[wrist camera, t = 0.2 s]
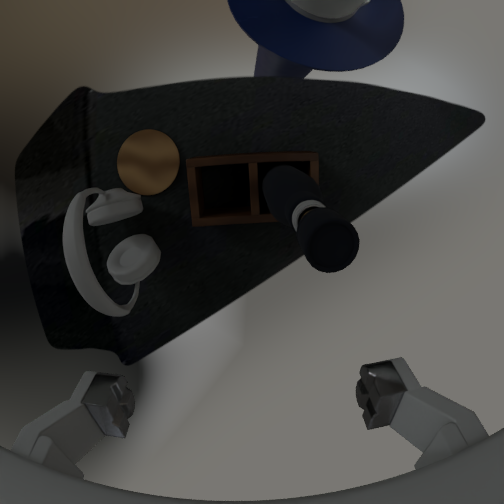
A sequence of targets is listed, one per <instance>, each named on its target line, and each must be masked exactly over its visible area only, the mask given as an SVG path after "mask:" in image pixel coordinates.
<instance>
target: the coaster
mask: <svg viewBox="0 0 504 504" xmlns="http://www.w3.org/2000/svg"><path fill="white" fill-rule="evenodd" d="M179 165H180V158H179V152H178V149H177V147H176V145H175V143H174V142H173V141H172V139H171V138H170V137H169V136H167V135H166V134H164V133H162V132H160V131H157V130H142V131H139V132H136V133H134V134H133V135H131V136H130V137H129V138H128V139H127V140H126V141H125V142H124V143H123V145H122V147H121V149H120V151H119V154H118V159H117V168H118V172H119V176H120V178H121V180H122V181H123V183H124V184H125V185H126V186H127V187H128V188H129V189H130V190H132V191H133V192H135V193H138V194H141V195H154V194H157V193H160V192H162V191H163V190H165V189H166V188H168V187H169V186H170V185H171V184H172V182H173V181H174V180H175V178H176V176H177V173H178V170H179Z"/></svg>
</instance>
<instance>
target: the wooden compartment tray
mask: <svg viewBox="0 0 504 504" xmlns="http://www.w3.org/2000/svg"><path fill="white" fill-rule="evenodd" d="M288 161H303V172H304V173H305V174H307V175H308V176H310V177H311V178H313V179H314V180H315V182H316V183H317V184H318V186H319V161H318V153H316V152H311V151H284V152H257V153H239V154H224V155H212V156H201V157H193V158H190V159H187V160H186V166H187V177H188V187H189V197H190V207H191V216H192V226H193V227H197V226H211V225H227V224H243V223H261V222H279V221H277V220H276V219H275V218H274V217H273V215H272V214H271V213H270V210H269V208H268V205H262V206H259V188H258V168H257V163H260V162H288ZM242 163H248V168H249V186H250V204H251V206H244V207H228V208H213V209H205V206H204V195H203V183H202V171H201V167H202V166H213V165H227V164H242Z"/></svg>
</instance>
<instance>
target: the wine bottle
mask: <svg viewBox="0 0 504 504" xmlns="http://www.w3.org/2000/svg"><path fill="white" fill-rule="evenodd" d="M260 183H261V188H262V191H263V194H264V197H265V199H266V202H267V205H268V208H269V210H270V213H271V214H272V215H273V217H274V218H275V219H276V220H277V221H279V222H281V223H282V224H284V225H285V226H287V227H291V228H292V229H293V230H294V231H295V232H297V240H298V242H299V245H300V247H301V249H302V251H303V253H304V255H305V257H306V259H307V261H308V262H309V263H310V264H311V266H312V267H314V268H315V269H317V270H318V271H322V272H326V273H331V272H337V271H340V270H343V269H344V268H346V267H347V266H348V265H350V264H351V263H352V261H353V260H354V259H355V257H356V255H357V252H358V250H359V237H358V233H357V231H356V230H355V228H354V227H353V225H352V224H351V223H349V222H348V221H347V220H346V219H345V218H343V217H342V216H341V215H340V214H339V213H337V212H336V211H335V210H333V209H330V208H327V206H326V205H325V203H324V202H323V196H322V193H321V190H320V188H319V186H318V184H317V183H316V182H315V180H314V179H313V178H311V177H310V176H308V175H307V174H305V173H304V172H302V171H300V170H298V169H296V168H295V167H293V166H291V165H289V164H286V163H274V164H271V165H270V166H268V167H267V168H266V169H265V170H264V172H263V173H262V176H261V179H260Z"/></svg>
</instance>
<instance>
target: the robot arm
mask: <svg viewBox="0 0 504 504" xmlns="http://www.w3.org/2000/svg"><path fill="white" fill-rule="evenodd" d="M285 1H286V2H287V3H288V4H289V5H290V6H291V7H292V8H293V9H294V10H295V11H297V12H298V13H300V14H301V15H303V16H305V17H307V18H310V19H312V20H316V21H319V22H326V23H336V22H342V21H345V20H347V19H349V18H351V17H352V16H353V15H354V14H355V13H356V12H357V10H358V9H359V8H360V7H361V6H364V5H366V4H368V3H369V2H370V1H371V0H285ZM360 376H361V379H360V380H359V381H358V382H357V386H356V398H357V402H358V405H359V407H361V408H362V409H364V413H363V419H364V421H365V424H366V427H367V429H368V430H369V429H374V428H379V427H383V426H387V425H390V427H391V428H392V429H394V430H395V431H396V432H397V433H399V434H400V435H401V436H403V437H404V438H405V439H406V440H408V441H409V442H410V443H411V444H413V445H414V446H415V447H417V448H418V449H419V450H420V451H422V452H423V454H422V455H421V457H420V458H419V460H418V461H417V462H416V464H415V469H416V470H414V471H411V472H408V473H405V474H402V475H399V476H396V477H393V478H389V479H386V480H383V481H379V482H375V483H372V484H368V485H364V486H360V487H355V488H351V489H346V490H341V491H337V492H331V493H325V494H319V495H313V496H305V497H298V498H288V499H277V500H262V501H205V500H192V499H180V498H171V497H163V496H156V495H150V494H144V493H138V492H133V491H128V490H123V489H118V488H114V487H109V486H105V485H102V484H98V483H94V482H90V481H87V480H84V479H83V477H84V475H83V473H82V471H81V470H79V468H78V467H77V466H76V465H75V464H76V463H77V462H78V461H79V460H80V459H81V458H82V457H83V456H84V455H86V454H87V453H88V452H89V451H90V450H91V449H92V448H93V447H94V446H95V445H96V444H97V443H98V442H99V441H100V440H102V439H103V438H104V437H105V435H108V436H114V437H121V438H125V437H126V434H127V431H128V427H129V422H128V420H127V419H128V418H129V417H131V416H132V415H133V412H134V408H135V400H134V396H133V393H132V391H131V390H130V389H128V388H127V387H126V386H127V383H128V382H127V380H126V378H125V376H123V375H116V374H108V373H101V372H92V371H87V372H85V373H84V374H83V376H82V378H81V380H80V381H79V383H78V385H77V387H76V389H75V391H74V392H73V394H72V396H71V398H70V400H69V401H67V400H65V401H64V402H62V403H61V404H59V405H58V406H56V407H54V408H53V409H51V410H50V411H48V412H46V413H45V414H43V415H42V416H40V417H39V418H37V419H35V420H34V421H32V422H30V423H29V424H27V425H26V426H24V427H23V428H22V430H21V432H20V433H19V435H18V437H17V439H16V441H15V443H14V445H13V447H12V449H11V451H10V450H7V449H5V448H4V447H1V446H0V504H504V428H503V429H501V430H499V431H498V432H496V433H494V434H492V435H491V436H489V435H488V434H487V432H486V430H485V429H484V427H483V425H482V424H481V422H480V420H479V419H478V417H477V416H476V414H475V413H474V412H473V411H471V410H469V409H467V408H466V407H464V406H461V405H459V404H458V403H456V402H454V401H452V400H450V399H448V398H446V397H444V396H442V395H440V394H438V393H436V392H435V391H433V390H430V389H429V388H427V387H421V386H420V384H419V382H418V381H417V379H416V378H415V376H414V374H413V372H412V371H411V369H410V368H409V366H408V364H407V363H406V361H405V360H404V359H403V358H402V357H400V358H396V359H391V360H386V361H381V362H376V363H371V364H365V365H362V367H361V369H360Z"/></svg>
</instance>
